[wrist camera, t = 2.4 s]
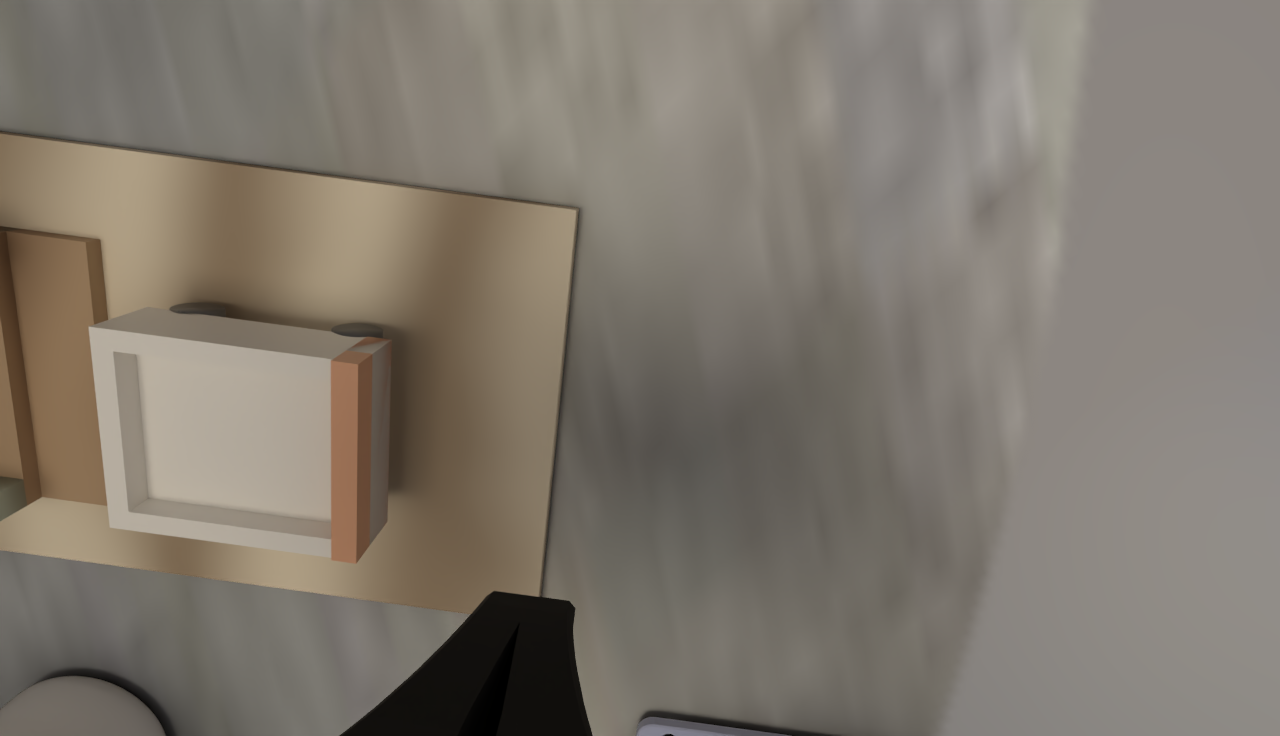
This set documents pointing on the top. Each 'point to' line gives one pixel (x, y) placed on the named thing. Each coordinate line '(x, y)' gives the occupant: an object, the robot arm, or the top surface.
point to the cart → (244, 429)
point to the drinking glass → (77, 710)
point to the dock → (300, 297)
